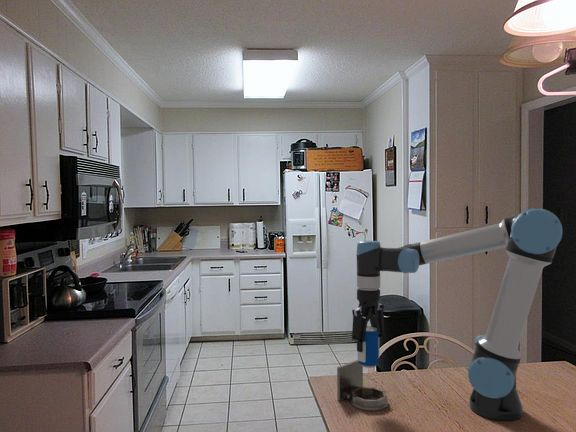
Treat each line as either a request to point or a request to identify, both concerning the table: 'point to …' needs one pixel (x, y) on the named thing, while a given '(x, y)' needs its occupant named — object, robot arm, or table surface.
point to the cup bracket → (358, 389)
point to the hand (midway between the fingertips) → (368, 358)
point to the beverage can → (371, 348)
